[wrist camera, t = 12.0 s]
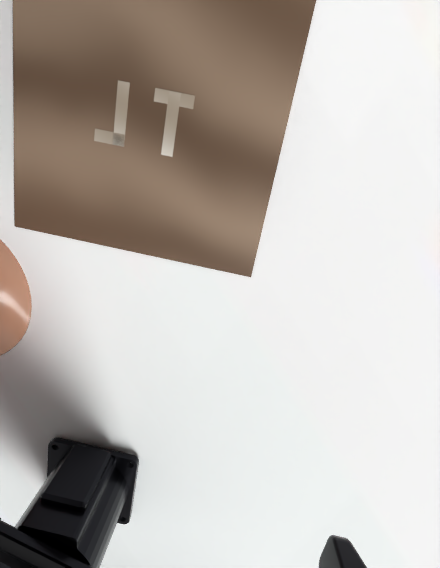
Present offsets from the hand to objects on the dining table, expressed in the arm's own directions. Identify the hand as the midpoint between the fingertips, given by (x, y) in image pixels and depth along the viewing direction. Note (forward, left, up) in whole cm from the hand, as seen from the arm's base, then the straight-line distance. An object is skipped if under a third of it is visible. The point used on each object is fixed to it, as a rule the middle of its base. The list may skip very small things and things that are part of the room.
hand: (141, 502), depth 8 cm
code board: (+9, +5, -13) cm, 17 cm away
